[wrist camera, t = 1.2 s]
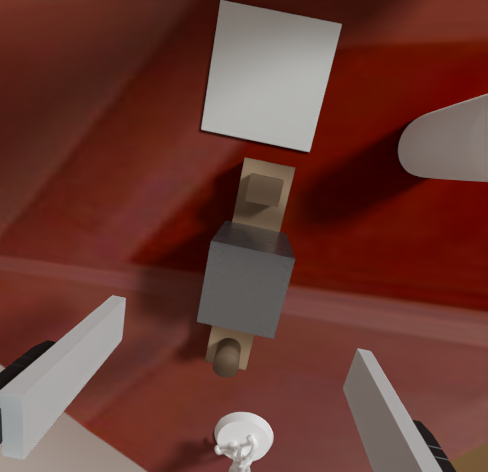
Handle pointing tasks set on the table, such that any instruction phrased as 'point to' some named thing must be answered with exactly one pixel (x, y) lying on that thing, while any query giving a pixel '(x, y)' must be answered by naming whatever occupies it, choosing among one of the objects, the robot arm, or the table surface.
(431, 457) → the robot arm
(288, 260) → the slate gray cube
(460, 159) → the can
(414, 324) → the table surface
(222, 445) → the figurine
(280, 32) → the mat
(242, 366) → the plane body
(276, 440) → the table surface
